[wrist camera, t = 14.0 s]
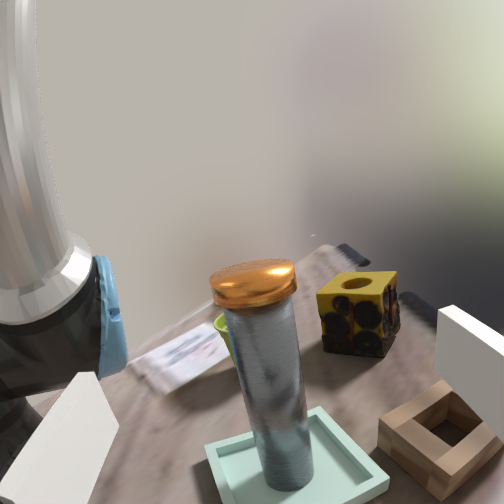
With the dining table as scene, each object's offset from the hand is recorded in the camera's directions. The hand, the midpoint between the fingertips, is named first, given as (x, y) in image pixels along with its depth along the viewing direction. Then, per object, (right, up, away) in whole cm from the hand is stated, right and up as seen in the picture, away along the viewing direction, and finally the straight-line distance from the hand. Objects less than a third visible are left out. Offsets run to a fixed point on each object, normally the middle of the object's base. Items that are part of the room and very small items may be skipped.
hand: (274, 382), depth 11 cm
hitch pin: (+3, -15, +13) cm, 21 cm away
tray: (+3, -16, +13) cm, 21 cm away
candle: (+17, -10, +37) cm, 42 cm away
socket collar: (+18, -14, +11) cm, 25 cm away
